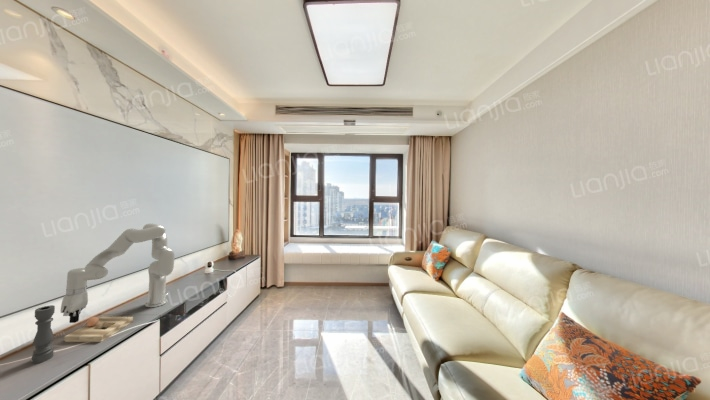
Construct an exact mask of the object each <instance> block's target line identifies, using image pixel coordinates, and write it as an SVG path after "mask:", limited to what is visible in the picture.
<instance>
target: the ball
mask: <svg viewBox="0 0 710 400" xmlns="http://www.w3.org/2000/svg"><path fill="white" fill-rule="evenodd" d="M99 318H100V317H97V316H92V317H89V318H88V319H87V320H86V322H85V325H87V326H94V325H96V324H97V323H98V322H99Z"/></svg>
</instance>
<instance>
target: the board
mask: <svg viewBox="0 0 710 400" xmlns="http://www.w3.org/2000/svg"><path fill="white" fill-rule="evenodd" d="M98 318H99V322H98V323H97V324H96V325H94V326H87V325H86V324H85V325H83V326H81V327H80V328H78V329H76V330H74V331H72V332H70V333H68V334H66V335H64V343H66V342H67V343H73V342H74V343H77V342H78V343H79V342H80V343H81V342H83V343H92V342H93V343H101V342H103V341H105V340H107V339H108V338H110V337H111V336H113V335H114V334H116V333H117V332H119V331H120V330H122V329H123V328H126V327H127V326H128V325H130V324H131V323H133V322H134V317H133V316H100V317H98ZM103 328H105V329H103Z"/></svg>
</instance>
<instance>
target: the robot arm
mask: <svg viewBox="0 0 710 400" xmlns="http://www.w3.org/2000/svg"><path fill="white" fill-rule="evenodd" d="M150 240H151V257H152V258H153V259H154V260H155V261H153V262H151V263H149V266H148V282H149V283H148V294H147V295H148V296H147V297H148V298H147V301H146V302H145V303H144V307H145V308H146V307H147V308H157V307H161V306H163V305H166V304H167V303H168V300H169V299H167V298H166V297H167V296H169V293H168V292H167V293H166V287H167V286H166V285H167V277H168V276H170V275H171V274H172V273H173V272H174V267H175V266H174V265H175V252H174V250H173V249H172V248H169V247H168V237H167V234H166V228H165V227H164V226H162V225H160V224H157V223H156V224H155V223H146V224H144V225H143V227H142V228H141V229H139V228H138V229H136V228H127V229H126V230H124V231H123V232H122V233H121V234H120V235H119V236H118V237H117V238H116V240H114V241H113V243H111V244H110V246H108V248H106V249H103V250H102V251H101V252H100V253H98V254H97V255H95V256H94V257H93V258H92V259H91V260H90V261H89V262H88V263H87V264H86V265H85V267H79V268H73V269H70V270H69V271H68V272H67V275H66V285H65V286H66V287H65V288H66V290H65V295H63V298H62V302H61V306H60V314H62V316H63V317H69V323H72V324H75V323H77V322H79V320H80V314H81V313H82V311H83V309H85V308H86V307H87V305H88V304H89V303H88V301H89V297H88V296H89V295H88V291H87V288H88V281H93V280H94V281H96V280H102V279H103V278H105V277H106V276H107V275H108V273H109V270H108V268H106V267H105V265H106V264H107V263H108V262H110V261H111V260H112V259H115V258H116V257H120V256H122V255H124V254H125V253H126V252H127V251H128V250H129V249H130V248H131V246H132V245H133V244H137V243H138V244H139V243H143V242H147V241H148V242H149V241H150Z"/></svg>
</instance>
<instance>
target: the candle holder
mask: <svg viewBox="0 0 710 400" xmlns="http://www.w3.org/2000/svg"><path fill="white" fill-rule="evenodd" d="M55 309H56V306H55V305H44V306H41V307H37V308H35V310H34V318H35V320H37V321H35V325H37V328H36V329H37V332H36V333H35V336H34V338H33V339H32V340H33V342H32V345H33V346H34V347H35V350H33V352H32V355H31V364H35V365H36V364H40V363H45V362H47V361H49V360H51V359H52V358H53V357H54V353H55V352H54V346H53V345H52V342H53V341H54V339H55V336H54V333H53V330H52V327H51V326H52V322H53V321H54V318H53V315H54V313H55V311H56V310H55Z"/></svg>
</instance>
